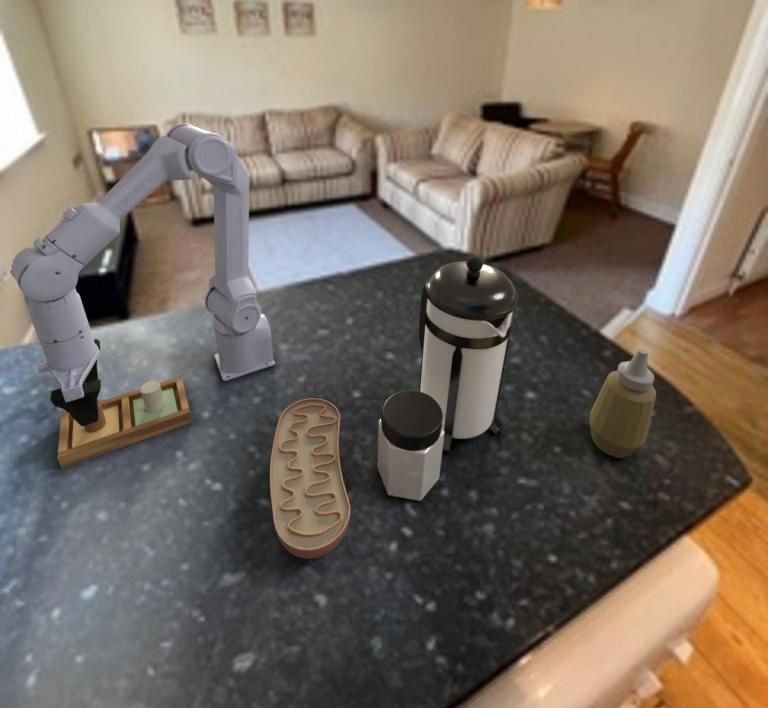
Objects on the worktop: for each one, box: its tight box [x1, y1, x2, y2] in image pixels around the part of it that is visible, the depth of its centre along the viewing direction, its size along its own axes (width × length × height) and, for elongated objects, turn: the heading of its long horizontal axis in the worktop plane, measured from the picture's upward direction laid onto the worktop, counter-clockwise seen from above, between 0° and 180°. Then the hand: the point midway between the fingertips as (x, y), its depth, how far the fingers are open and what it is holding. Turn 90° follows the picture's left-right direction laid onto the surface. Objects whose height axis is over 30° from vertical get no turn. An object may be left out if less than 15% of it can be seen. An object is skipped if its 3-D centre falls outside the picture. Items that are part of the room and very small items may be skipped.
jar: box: [376, 389, 444, 502], centre depth 62 cm, size 9×8×12 cm
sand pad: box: [72, 398, 120, 448], centre depth 68 cm, size 6×6×5 cm
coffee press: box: [418, 255, 519, 455], centre depth 68 cm, size 17×16×30 cm
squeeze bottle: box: [588, 348, 657, 459], centre depth 66 cm, size 8×8×18 cm
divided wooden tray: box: [56, 376, 193, 470], centre depth 70 cm, size 9×17×2 cm, turn 120°
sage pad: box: [133, 380, 178, 426], centre depth 71 cm, size 6×6×5 cm
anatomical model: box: [269, 397, 352, 560], centre depth 61 cm, size 23×10×5 cm, turn 10°
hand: (90, 404), depth 67 cm, fingers open, 7 cm apart
